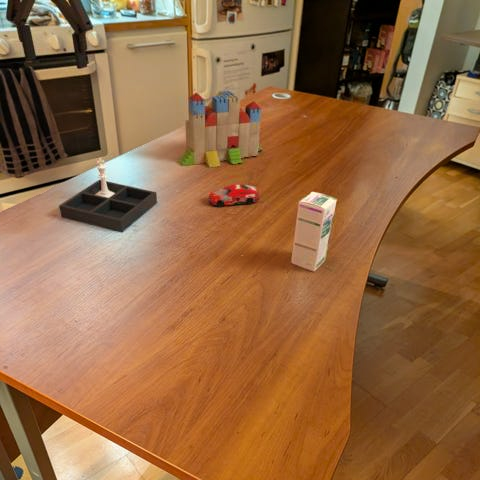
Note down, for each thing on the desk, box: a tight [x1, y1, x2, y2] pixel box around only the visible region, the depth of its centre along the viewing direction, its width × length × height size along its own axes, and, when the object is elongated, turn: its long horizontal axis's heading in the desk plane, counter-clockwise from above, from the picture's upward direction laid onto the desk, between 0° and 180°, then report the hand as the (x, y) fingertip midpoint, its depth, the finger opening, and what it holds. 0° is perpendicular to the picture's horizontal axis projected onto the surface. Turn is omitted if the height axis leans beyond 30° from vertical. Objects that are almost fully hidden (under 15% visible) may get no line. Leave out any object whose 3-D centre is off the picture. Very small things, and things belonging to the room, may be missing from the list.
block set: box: [178, 90, 264, 168], centre depth 136 cm, size 28×14×19 cm, turn 115°
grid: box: [58, 179, 158, 233], centre depth 111 cm, size 16×16×3 cm
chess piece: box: [96, 157, 115, 198], centre depth 112 cm, size 5×5×10 cm
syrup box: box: [290, 191, 337, 273], centre depth 94 cm, size 6×6×14 cm
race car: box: [208, 183, 260, 208], centre depth 118 cm, size 13×5×4 cm, turn 106°
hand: (56, 63), depth 103 cm, fingers open, 13 cm apart
